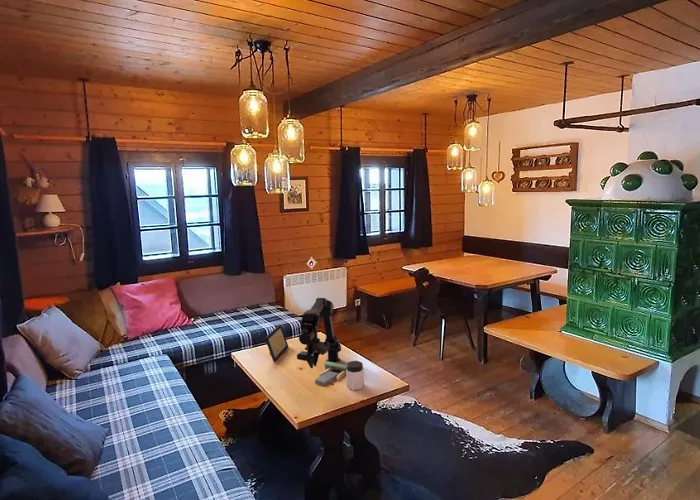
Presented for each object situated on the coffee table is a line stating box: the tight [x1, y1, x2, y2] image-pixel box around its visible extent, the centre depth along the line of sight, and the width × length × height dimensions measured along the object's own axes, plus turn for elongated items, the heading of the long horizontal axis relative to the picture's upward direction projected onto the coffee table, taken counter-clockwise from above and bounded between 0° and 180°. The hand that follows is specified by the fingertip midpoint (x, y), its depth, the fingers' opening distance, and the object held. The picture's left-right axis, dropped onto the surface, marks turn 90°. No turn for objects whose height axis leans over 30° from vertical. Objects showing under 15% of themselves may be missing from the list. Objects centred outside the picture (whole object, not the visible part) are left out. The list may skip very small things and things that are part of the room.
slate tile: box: [314, 371, 339, 387], centre depth 228 cm, size 12×6×2 cm, turn 145°
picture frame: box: [264, 324, 289, 363], centre depth 265 cm, size 23×9×15 cm, turn 168°
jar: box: [345, 360, 365, 391], centre depth 219 cm, size 9×8×12 cm
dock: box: [319, 361, 347, 382], centre depth 235 cm, size 12×16×4 cm
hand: (313, 367), depth 217 cm, fingers open, 3 cm apart
